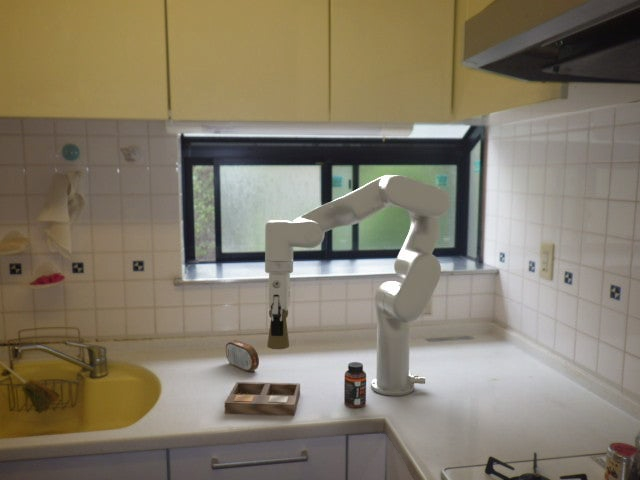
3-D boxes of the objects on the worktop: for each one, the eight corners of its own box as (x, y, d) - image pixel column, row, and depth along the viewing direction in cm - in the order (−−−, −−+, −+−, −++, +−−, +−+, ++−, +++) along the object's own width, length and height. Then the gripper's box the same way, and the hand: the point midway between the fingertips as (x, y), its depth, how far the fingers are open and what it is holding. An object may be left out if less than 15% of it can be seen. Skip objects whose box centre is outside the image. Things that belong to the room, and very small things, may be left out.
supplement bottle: (363, 410, 138) (363, 369, 137) (341, 407, 140) (342, 367, 139) (368, 401, 144) (368, 361, 143) (347, 398, 146) (347, 359, 144)
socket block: (300, 393, 149) (300, 382, 149) (294, 415, 135) (294, 403, 135) (236, 391, 150) (236, 381, 150) (224, 413, 136) (224, 401, 136)
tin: (259, 372, 165) (259, 347, 164) (252, 375, 163) (251, 349, 162) (232, 361, 176) (231, 337, 175) (224, 363, 173) (223, 339, 172)
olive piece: (286, 350, 138) (286, 309, 137) (264, 348, 139) (264, 308, 138) (291, 343, 144) (292, 304, 143) (270, 341, 145) (271, 303, 144)
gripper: (289, 272, 130) (288, 342, 133) (296, 261, 147) (295, 324, 149) (260, 271, 131) (259, 341, 133) (269, 261, 148) (269, 323, 150)
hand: (278, 331), depth 141 cm, fingers closed on olive piece, 4 cm apart
